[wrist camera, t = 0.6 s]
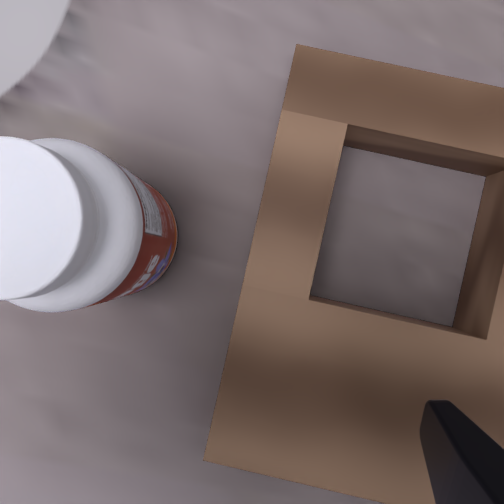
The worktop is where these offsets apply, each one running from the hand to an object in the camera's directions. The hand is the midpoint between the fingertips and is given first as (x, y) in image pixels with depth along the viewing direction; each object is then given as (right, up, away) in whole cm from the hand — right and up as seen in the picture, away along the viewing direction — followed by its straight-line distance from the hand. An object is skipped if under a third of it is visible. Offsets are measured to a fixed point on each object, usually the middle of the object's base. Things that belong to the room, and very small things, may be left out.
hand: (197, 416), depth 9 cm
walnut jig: (+8, +2, +14) cm, 16 cm away
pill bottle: (-6, +4, +15) cm, 17 cm away
